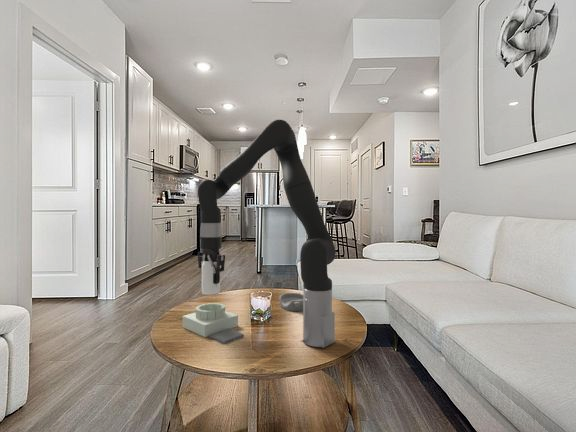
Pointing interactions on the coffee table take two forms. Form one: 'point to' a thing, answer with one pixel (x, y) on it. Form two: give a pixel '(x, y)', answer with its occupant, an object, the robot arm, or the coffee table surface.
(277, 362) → the coffee table surface
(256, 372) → the coffee table surface
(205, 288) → the can
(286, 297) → the dish
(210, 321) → the pedestal block
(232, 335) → the slate coaster
